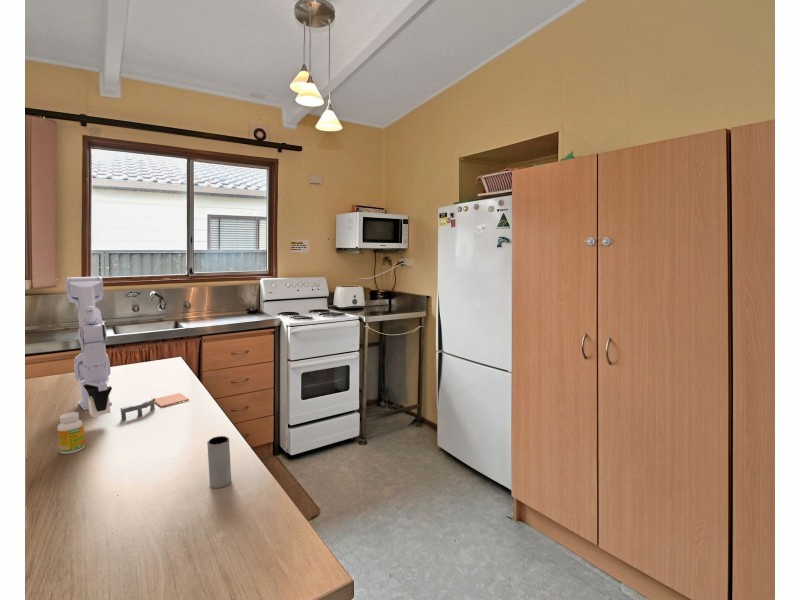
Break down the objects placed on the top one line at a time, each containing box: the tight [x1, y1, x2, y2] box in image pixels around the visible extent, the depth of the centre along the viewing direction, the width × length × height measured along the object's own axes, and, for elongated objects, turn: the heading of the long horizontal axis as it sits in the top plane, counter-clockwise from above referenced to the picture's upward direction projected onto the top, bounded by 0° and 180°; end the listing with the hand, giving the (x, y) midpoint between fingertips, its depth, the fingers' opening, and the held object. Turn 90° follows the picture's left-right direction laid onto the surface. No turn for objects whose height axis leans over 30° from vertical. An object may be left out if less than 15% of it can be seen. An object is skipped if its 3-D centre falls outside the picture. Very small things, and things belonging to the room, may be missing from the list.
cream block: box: [88, 395, 112, 418], centre depth 128 cm, size 4×4×5 cm
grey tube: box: [206, 435, 232, 489], centre depth 96 cm, size 4×4×10 cm
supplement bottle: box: [56, 411, 86, 455], centre depth 112 cm, size 5×5×10 cm
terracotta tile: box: [154, 392, 190, 408], centre depth 149 cm, size 9×9×1 cm
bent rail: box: [119, 397, 156, 421], centre depth 137 cm, size 5×10×4 cm, turn 137°
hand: (99, 408), depth 128 cm, fingers closed on cream block, 4 cm apart
